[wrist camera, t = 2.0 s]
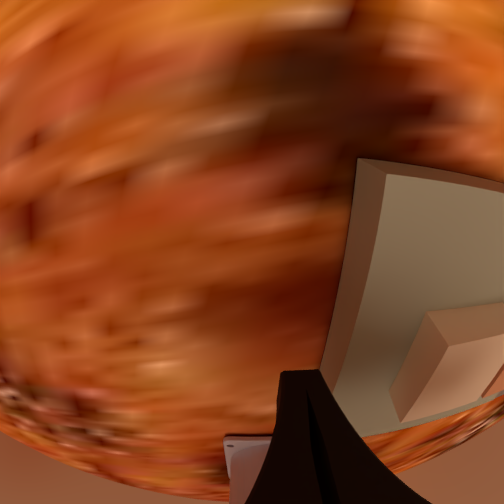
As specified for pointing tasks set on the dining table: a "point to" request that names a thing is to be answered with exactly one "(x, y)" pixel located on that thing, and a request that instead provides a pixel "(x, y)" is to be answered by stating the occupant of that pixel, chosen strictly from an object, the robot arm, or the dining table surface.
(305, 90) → the dining table surface
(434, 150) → the dining table surface
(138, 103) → the dining table surface
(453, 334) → the cream tile
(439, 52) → the dining table surface
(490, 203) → the beige square slab
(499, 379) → the terracotta tile
